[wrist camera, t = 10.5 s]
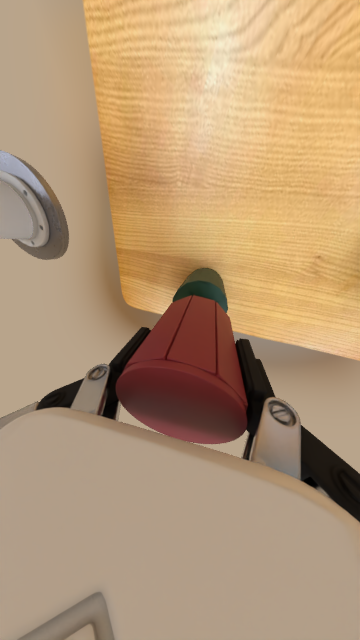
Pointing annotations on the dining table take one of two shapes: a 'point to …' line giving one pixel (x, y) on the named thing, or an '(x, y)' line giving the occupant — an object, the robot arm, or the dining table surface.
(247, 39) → the dining table surface
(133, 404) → the grooved red cylinder
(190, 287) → the green bottle
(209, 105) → the dining table surface
